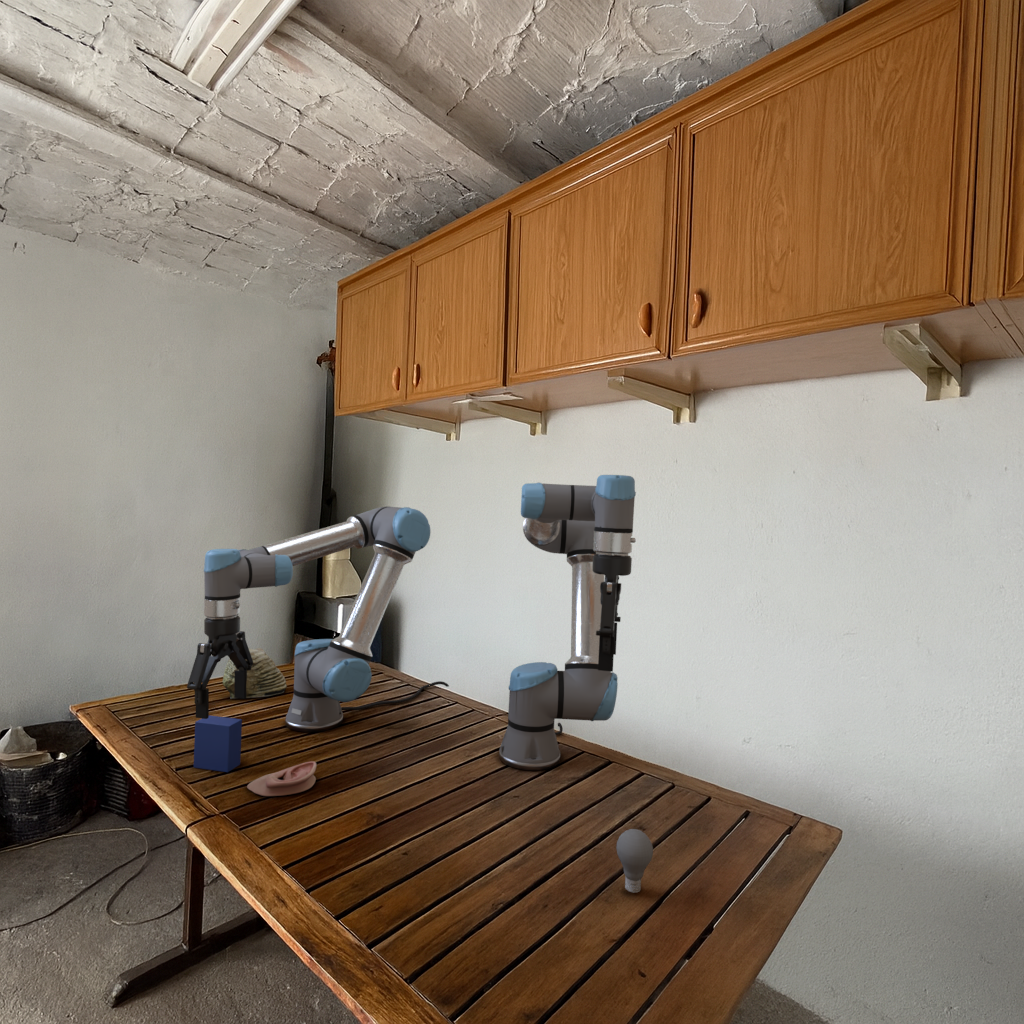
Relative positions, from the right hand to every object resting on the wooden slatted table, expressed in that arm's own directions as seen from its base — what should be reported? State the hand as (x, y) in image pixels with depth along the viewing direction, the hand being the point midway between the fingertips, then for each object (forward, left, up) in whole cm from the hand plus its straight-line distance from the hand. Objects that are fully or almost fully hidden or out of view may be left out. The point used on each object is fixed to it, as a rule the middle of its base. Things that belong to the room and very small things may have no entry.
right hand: (607, 661), depth 124 cm
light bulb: (+13, +14, -34) cm, 39 cm away
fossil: (+6, -122, -34) cm, 127 cm away
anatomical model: (+33, -60, -34) cm, 76 cm away
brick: (+38, -80, -34) cm, 94 cm away
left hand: (+37, -80, -20) cm, 90 cm away
